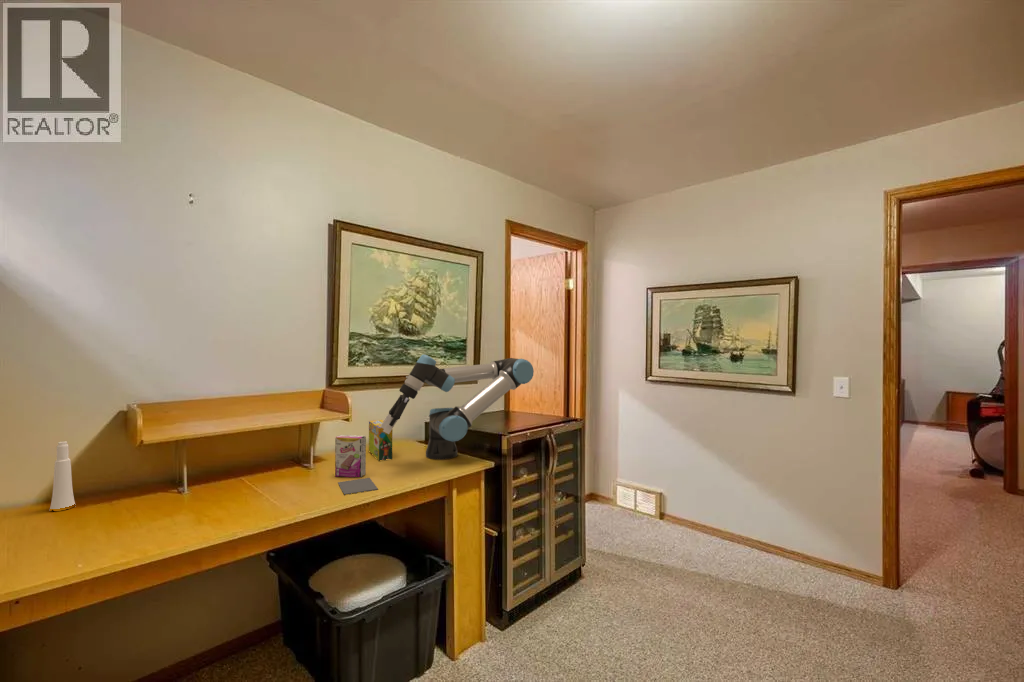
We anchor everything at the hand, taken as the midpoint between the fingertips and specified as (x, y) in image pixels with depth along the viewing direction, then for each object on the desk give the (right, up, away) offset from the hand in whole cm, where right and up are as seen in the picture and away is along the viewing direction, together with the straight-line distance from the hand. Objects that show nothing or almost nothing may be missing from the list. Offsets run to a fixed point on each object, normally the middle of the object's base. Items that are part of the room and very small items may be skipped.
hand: (384, 430), depth 190 cm
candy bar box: (-12, -17, -7) cm, 22 cm away
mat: (-4, -17, -20) cm, 27 cm away
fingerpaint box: (-9, -17, +24) cm, 31 cm away
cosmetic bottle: (-94, -17, -43) cm, 105 cm away
